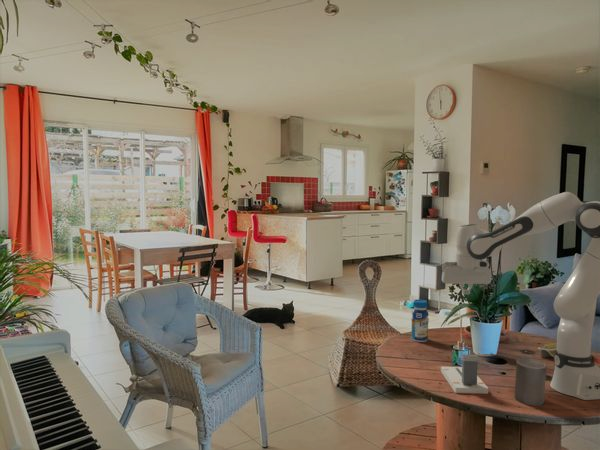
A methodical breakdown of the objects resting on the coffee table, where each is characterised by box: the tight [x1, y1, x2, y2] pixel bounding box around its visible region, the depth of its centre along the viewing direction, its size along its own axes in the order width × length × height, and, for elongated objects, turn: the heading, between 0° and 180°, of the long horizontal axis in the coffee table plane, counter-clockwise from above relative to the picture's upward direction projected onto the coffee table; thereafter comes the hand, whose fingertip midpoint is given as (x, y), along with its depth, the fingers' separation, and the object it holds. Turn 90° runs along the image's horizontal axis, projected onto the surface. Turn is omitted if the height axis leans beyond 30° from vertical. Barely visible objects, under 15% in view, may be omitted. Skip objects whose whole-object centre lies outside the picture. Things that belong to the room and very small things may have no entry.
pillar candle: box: [514, 357, 547, 407], centre depth 166 cm, size 10×10×15 cm
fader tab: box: [461, 353, 479, 385], centre depth 175 cm, size 6×2×11 cm, turn 88°
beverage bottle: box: [410, 299, 430, 343], centre depth 234 cm, size 8×8×20 cm
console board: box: [440, 366, 489, 395], centre depth 182 cm, size 12×21×2 cm, turn 177°
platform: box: [537, 342, 557, 359], centre depth 210 cm, size 12×18×7 cm, turn 109°
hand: (465, 294), depth 199 cm, fingers closed
